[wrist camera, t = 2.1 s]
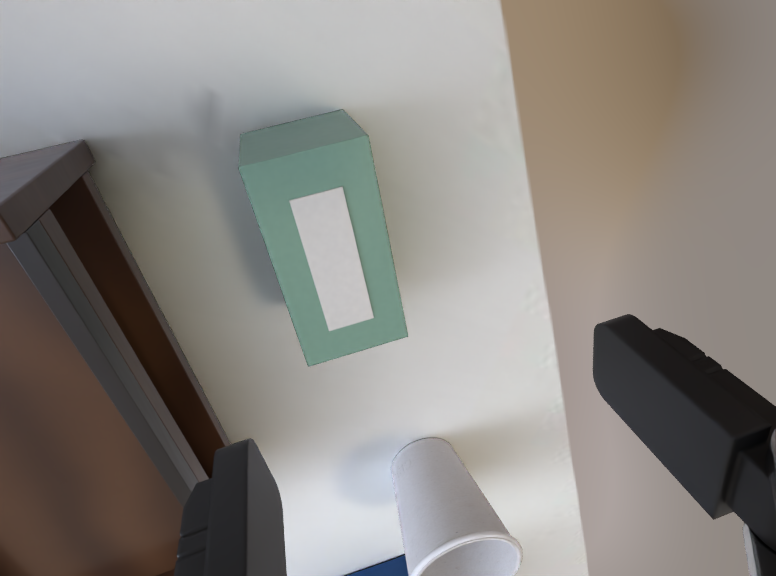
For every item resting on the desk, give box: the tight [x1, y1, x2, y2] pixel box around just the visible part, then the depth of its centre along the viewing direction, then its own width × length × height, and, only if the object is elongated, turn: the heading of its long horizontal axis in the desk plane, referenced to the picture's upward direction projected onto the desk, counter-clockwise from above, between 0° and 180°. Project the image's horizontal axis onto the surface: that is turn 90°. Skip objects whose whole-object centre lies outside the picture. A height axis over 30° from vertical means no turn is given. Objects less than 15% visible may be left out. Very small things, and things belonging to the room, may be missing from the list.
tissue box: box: [238, 109, 408, 366], centre depth 26 cm, size 6×11×7 cm, turn 11°
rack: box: [0, 139, 231, 576], centre depth 25 cm, size 12×24×10 cm, turn 11°
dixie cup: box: [391, 438, 523, 576], centre depth 37 cm, size 8×8×10 cm
